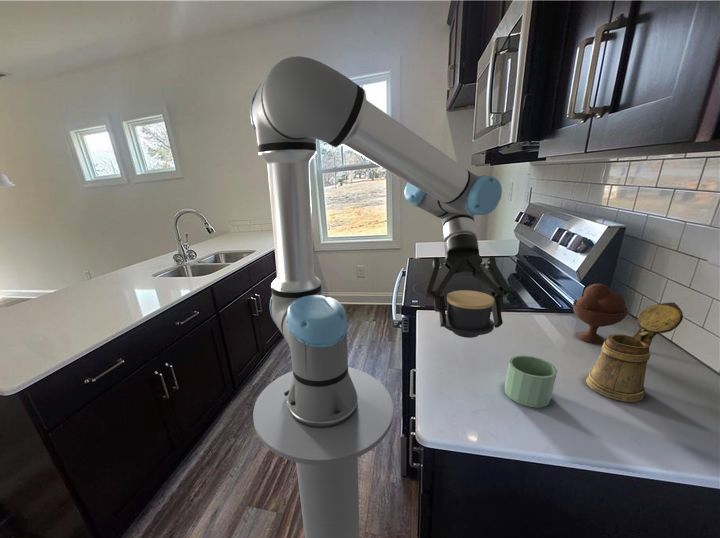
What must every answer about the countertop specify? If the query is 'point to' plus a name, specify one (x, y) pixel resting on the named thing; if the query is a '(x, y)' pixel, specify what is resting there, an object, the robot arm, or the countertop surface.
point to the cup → (530, 381)
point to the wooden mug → (631, 355)
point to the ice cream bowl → (598, 310)
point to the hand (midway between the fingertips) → (470, 325)
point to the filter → (469, 313)
